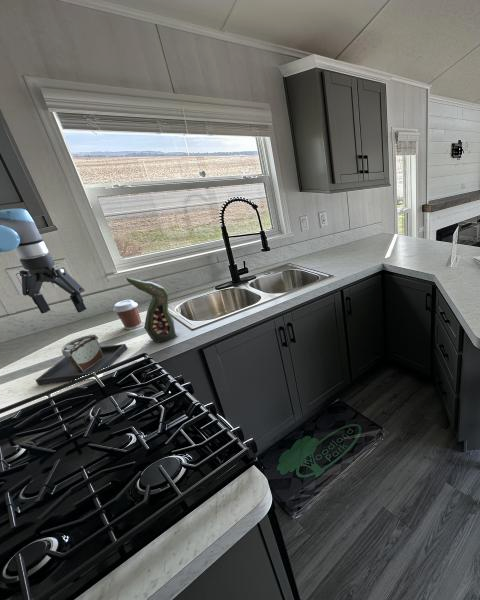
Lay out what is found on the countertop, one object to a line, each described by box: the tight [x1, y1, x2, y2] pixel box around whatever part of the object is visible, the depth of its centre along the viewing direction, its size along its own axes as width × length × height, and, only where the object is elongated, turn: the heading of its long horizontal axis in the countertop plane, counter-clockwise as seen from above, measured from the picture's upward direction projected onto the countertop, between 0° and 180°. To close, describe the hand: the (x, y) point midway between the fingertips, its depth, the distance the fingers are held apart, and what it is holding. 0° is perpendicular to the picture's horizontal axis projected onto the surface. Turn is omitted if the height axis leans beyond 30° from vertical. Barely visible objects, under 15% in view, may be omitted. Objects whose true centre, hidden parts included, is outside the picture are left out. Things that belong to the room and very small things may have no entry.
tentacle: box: [125, 277, 177, 343], centre depth 138 cm, size 9×12×30 cm
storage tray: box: [35, 343, 128, 386], centre depth 126 cm, size 20×19×2 cm
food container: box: [61, 334, 104, 372], centre depth 124 cm, size 12×6×10 cm, turn 0°
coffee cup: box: [112, 299, 143, 330], centre depth 152 cm, size 9×9×12 cm
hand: (64, 311), depth 120 cm, fingers open, 13 cm apart
